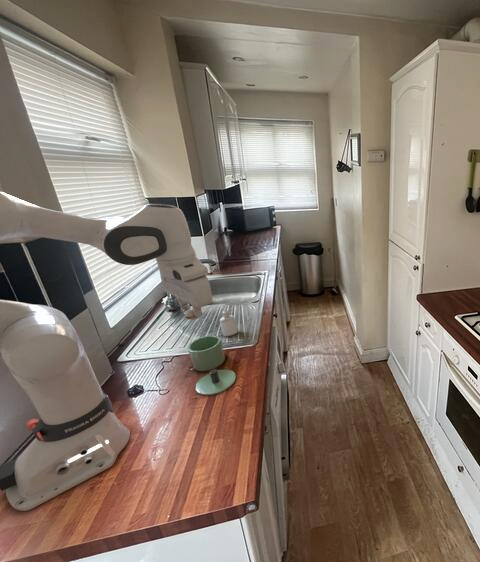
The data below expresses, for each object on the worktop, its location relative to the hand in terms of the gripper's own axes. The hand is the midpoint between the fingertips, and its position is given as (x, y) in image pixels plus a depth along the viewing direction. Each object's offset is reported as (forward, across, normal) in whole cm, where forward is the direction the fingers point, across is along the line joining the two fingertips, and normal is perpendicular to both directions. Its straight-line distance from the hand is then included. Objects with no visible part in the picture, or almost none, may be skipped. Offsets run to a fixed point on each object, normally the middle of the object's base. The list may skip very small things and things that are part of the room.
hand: (192, 312), depth 86 cm
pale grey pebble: (+2, 0, 0) cm, 2 cm away
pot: (+29, -17, +8) cm, 35 cm away
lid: (+29, -4, +3) cm, 29 cm away
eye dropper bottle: (+29, -30, +24) cm, 48 cm away
